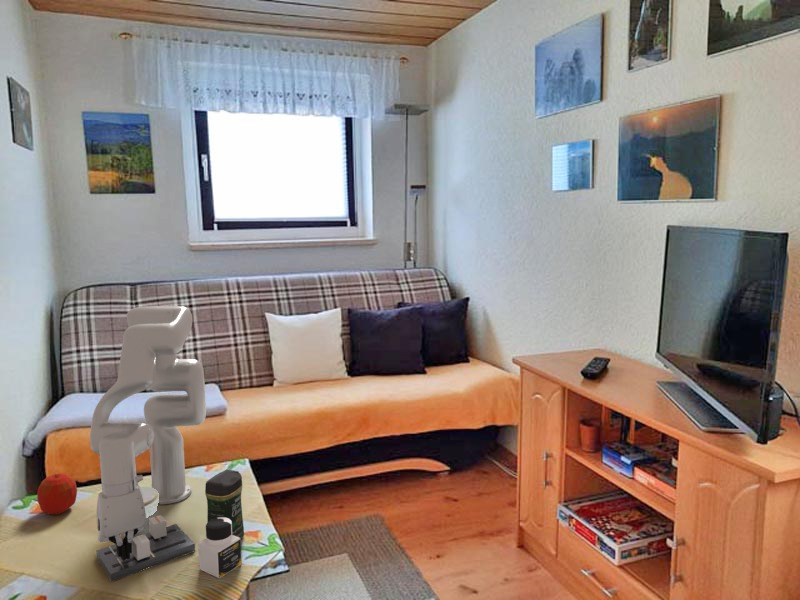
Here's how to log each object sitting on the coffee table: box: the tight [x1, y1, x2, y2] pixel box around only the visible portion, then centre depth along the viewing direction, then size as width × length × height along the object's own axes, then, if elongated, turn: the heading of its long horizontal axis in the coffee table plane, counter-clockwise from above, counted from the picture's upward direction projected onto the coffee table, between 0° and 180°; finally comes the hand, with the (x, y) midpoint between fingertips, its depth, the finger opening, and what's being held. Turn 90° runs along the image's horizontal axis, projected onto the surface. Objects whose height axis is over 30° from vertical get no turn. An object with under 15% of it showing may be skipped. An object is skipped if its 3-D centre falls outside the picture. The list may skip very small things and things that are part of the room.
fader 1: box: [132, 533, 150, 560], centre depth 147 cm, size 4×3×4 cm
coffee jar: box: [204, 469, 245, 540], centre depth 156 cm, size 10×8×19 cm
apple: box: [36, 473, 78, 516], centre depth 173 cm, size 10×10×12 cm
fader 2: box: [148, 514, 167, 539], centre depth 156 cm, size 4×3×4 cm
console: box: [95, 523, 196, 583], centre depth 151 cm, size 13×20×2 cm, turn 130°
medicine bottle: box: [198, 517, 242, 579], centre depth 145 cm, size 7×7×12 cm
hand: (124, 557), depth 145 cm, fingers closed
